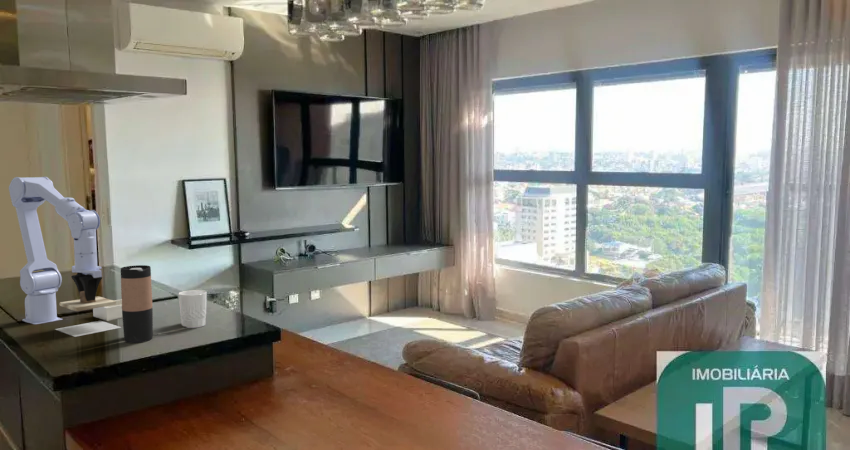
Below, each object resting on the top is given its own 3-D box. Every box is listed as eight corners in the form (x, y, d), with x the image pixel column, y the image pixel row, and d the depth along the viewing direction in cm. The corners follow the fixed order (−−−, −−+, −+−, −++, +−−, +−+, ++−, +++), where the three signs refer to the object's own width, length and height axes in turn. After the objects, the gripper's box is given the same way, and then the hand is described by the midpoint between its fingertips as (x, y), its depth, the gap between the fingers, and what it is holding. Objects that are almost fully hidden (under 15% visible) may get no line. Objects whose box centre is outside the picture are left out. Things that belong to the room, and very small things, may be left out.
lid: (59, 305, 183) (58, 292, 183) (98, 299, 192) (97, 286, 192) (76, 311, 177) (75, 297, 176) (116, 304, 185) (115, 291, 185)
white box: (93, 318, 199) (92, 303, 198) (122, 312, 206) (121, 299, 205) (107, 322, 193) (106, 307, 193) (136, 317, 200) (135, 302, 200)
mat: (54, 330, 183) (54, 329, 183) (100, 322, 194) (100, 320, 194) (75, 338, 175) (74, 336, 175) (121, 329, 186) (121, 327, 186)
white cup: (198, 329, 185) (197, 295, 184) (174, 328, 187) (172, 294, 186) (212, 322, 193) (211, 290, 192) (189, 321, 195) (188, 289, 194)
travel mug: (129, 335, 178) (126, 265, 176) (157, 335, 179) (154, 265, 177) (118, 343, 171) (115, 269, 169) (148, 342, 171) (145, 269, 169)
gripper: (111, 253, 182) (113, 300, 183) (88, 249, 191) (90, 294, 192) (86, 256, 176) (88, 304, 177) (63, 251, 185) (65, 297, 186)
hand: (87, 299), depth 184 cm, fingers closed on lid, 3 cm apart
